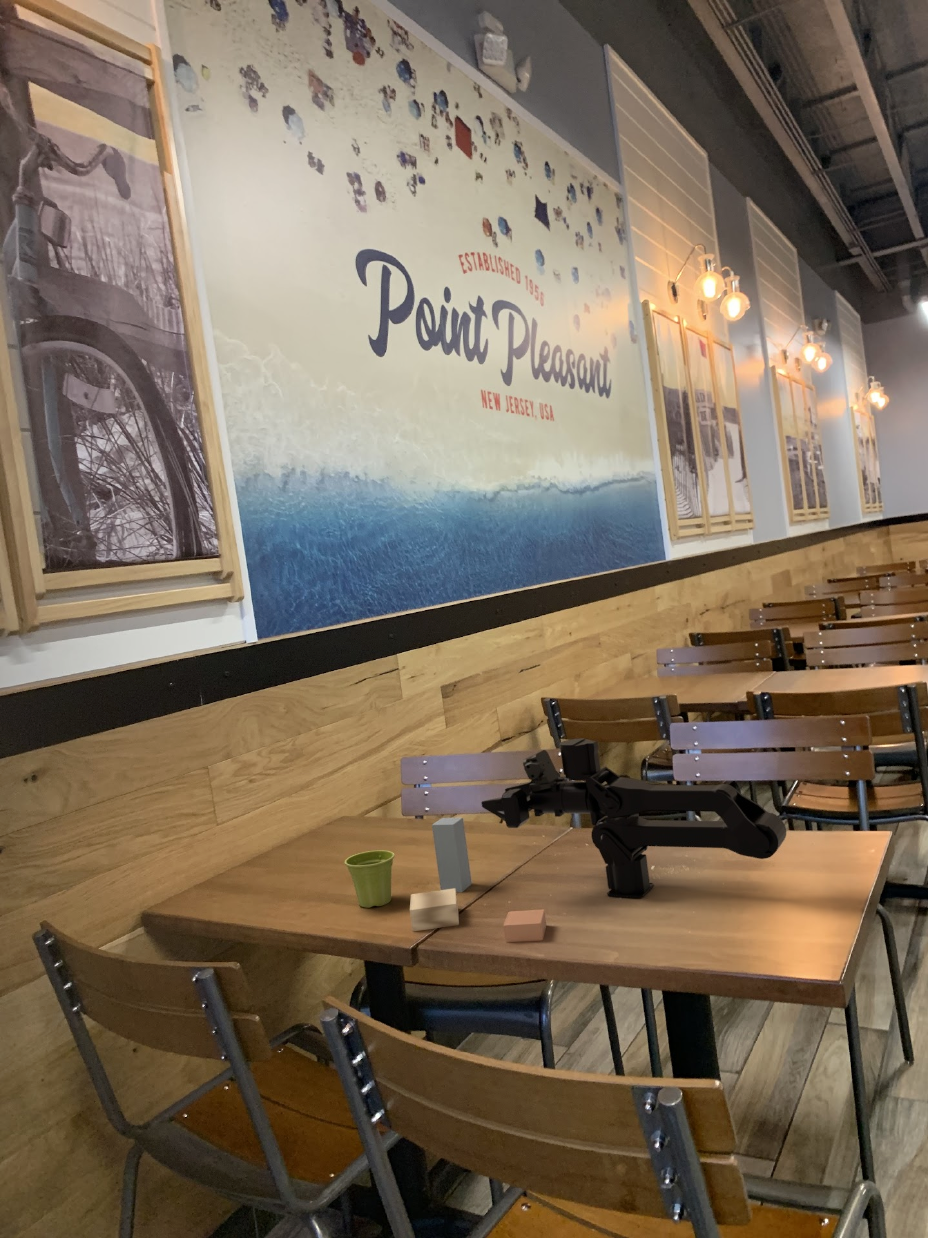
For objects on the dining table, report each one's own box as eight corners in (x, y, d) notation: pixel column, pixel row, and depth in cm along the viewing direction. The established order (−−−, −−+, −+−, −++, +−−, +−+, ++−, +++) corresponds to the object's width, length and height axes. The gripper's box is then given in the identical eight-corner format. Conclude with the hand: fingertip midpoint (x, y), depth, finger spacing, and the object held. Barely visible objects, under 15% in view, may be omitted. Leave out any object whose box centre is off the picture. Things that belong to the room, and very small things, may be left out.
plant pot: (375, 891, 182) (369, 848, 182) (410, 896, 176) (404, 852, 176) (340, 908, 175) (334, 863, 174) (375, 914, 169) (369, 868, 168)
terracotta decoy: (546, 927, 153) (544, 909, 153) (542, 942, 147) (540, 923, 147) (511, 929, 154) (508, 911, 154) (505, 944, 148) (503, 925, 148)
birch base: (458, 910, 166) (455, 888, 166) (459, 926, 158) (456, 903, 158) (414, 916, 166) (411, 894, 166) (412, 933, 158) (409, 910, 158)
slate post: (471, 884, 179) (462, 817, 178) (462, 892, 175) (452, 824, 174) (451, 883, 180) (442, 818, 180) (440, 891, 176) (431, 824, 176)
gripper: (583, 742, 175) (511, 745, 183) (539, 766, 159) (462, 767, 167) (591, 800, 176) (519, 800, 184) (548, 829, 160) (471, 828, 168)
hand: (494, 797), depth 176 cm, fingers open, 9 cm apart
